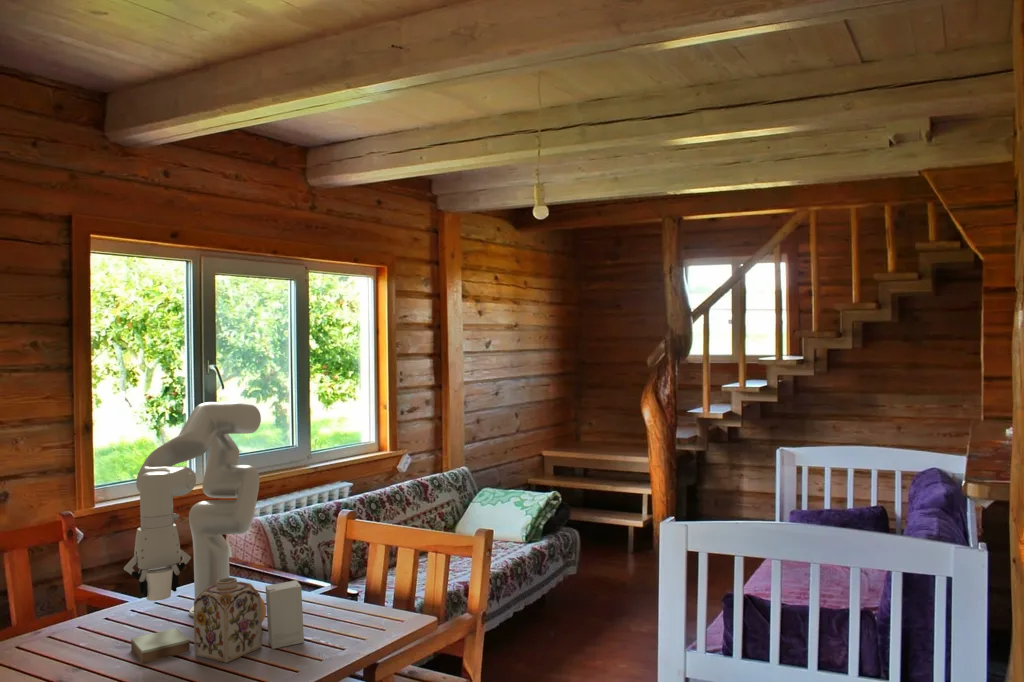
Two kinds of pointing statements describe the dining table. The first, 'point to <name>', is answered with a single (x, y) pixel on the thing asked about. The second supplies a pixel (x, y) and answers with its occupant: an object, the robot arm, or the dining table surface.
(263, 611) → the egg
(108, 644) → the dining table surface
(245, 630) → the decorative jar
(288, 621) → the skincare box
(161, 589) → the beige cylinder
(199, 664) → the dining table surface
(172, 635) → the plinth
